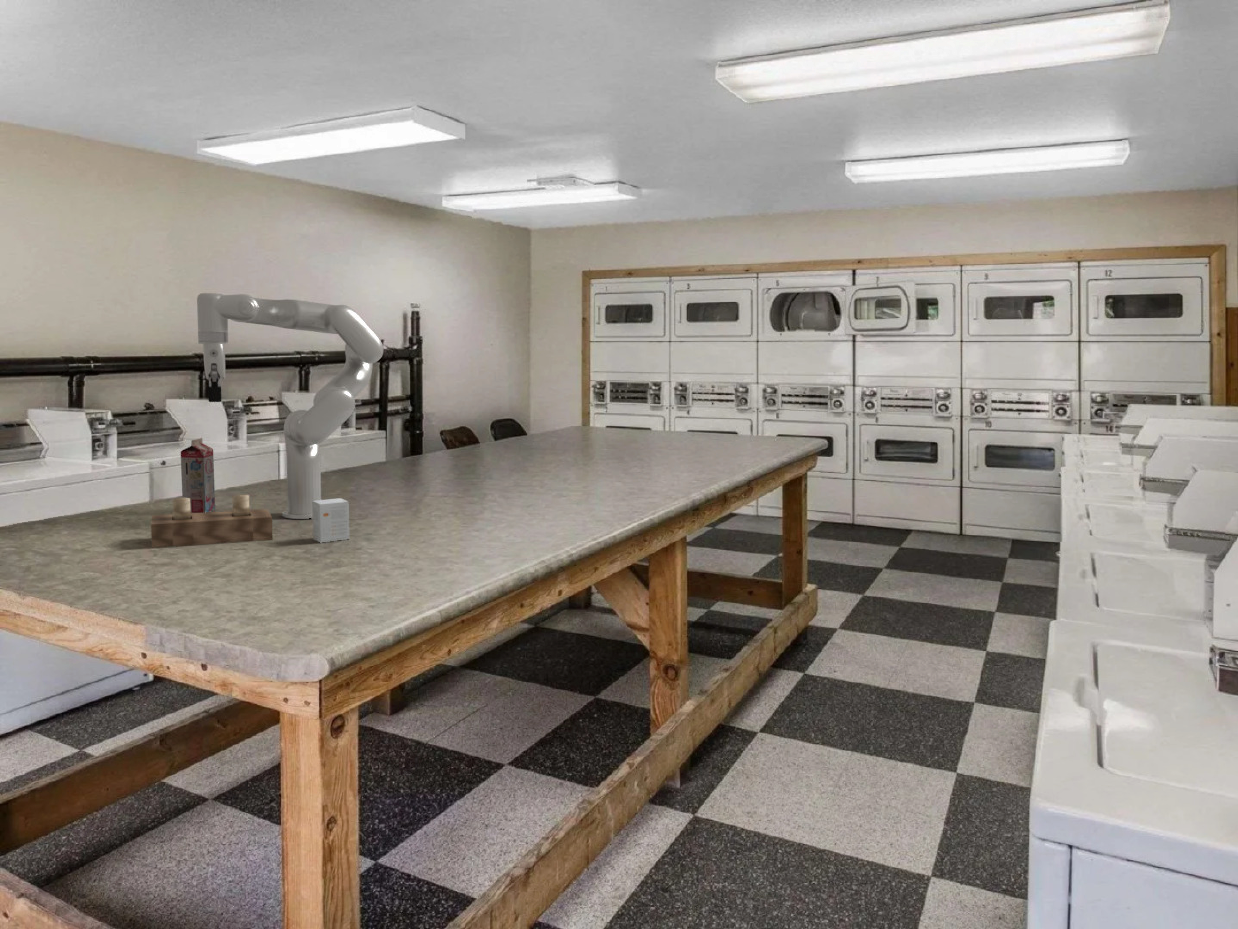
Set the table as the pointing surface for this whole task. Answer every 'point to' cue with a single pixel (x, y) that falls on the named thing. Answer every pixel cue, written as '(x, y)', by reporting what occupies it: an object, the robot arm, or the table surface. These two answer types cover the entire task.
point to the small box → (330, 520)
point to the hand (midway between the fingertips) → (214, 400)
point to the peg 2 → (240, 505)
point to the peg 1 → (181, 509)
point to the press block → (210, 528)
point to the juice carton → (198, 476)
